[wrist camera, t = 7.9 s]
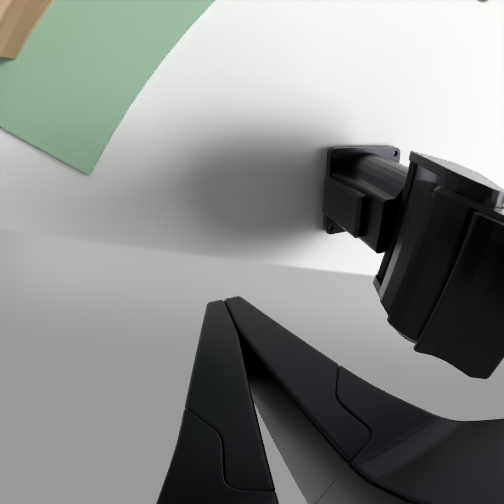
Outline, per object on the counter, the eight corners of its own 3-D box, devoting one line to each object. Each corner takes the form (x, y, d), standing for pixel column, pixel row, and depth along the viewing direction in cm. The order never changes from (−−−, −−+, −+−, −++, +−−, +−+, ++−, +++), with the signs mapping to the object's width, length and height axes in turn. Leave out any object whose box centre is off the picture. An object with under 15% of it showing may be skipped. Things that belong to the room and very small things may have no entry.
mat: (230, -16, 12) (232, -17, 12) (90, 174, 16) (89, 175, 15) (-1, -95, 1) (-2, -97, 1) (-106, 65, 4) (-108, 65, 4)
